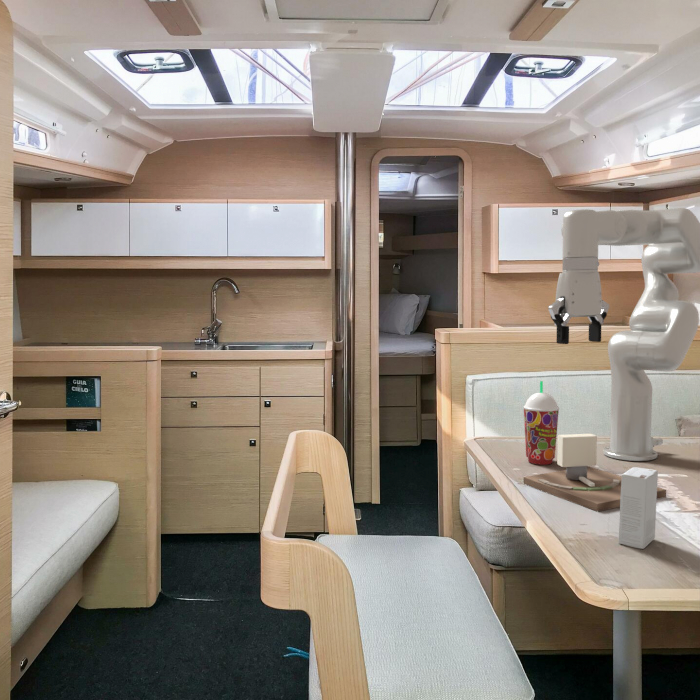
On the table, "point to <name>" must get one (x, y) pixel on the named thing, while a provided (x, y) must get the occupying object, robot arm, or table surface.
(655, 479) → the skincare box
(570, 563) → the table surface
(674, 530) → the table surface
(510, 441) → the table surface
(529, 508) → the table surface
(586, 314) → the robot arm
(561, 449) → the pointer knob
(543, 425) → the smoothie
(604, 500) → the tuner board
